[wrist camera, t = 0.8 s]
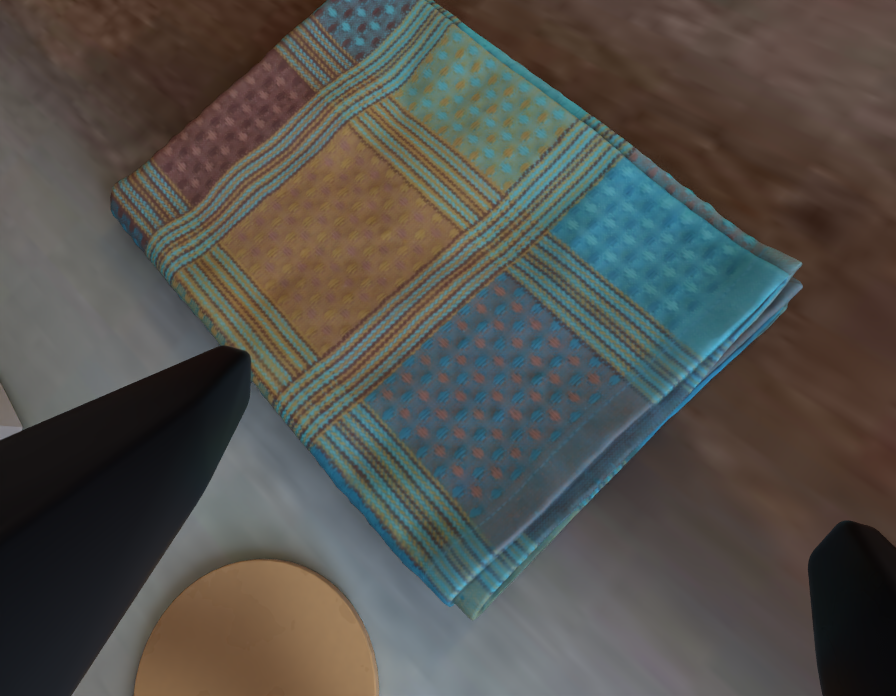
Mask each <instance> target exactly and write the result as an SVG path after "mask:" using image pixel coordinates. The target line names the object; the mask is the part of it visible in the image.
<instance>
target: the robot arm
mask: <svg viewBox="0 0 896 696" xmlns="http://www.w3.org/2000/svg"><path fill="white" fill-rule="evenodd" d="M250 383H251V357H250V354H249V353H248V352H247V351H245V350H241V349H238V348H234V347H231V346H226V345H222V346H219V347H216V348H214V349H211V350H209V351H207V352H204V353H202V354H200V355H197V356H195V357H193V358H190V359H188V360H186V361H183V362H181V363H179V364H176V365H174V366H172V367H169V368H167V369H165V370H162V371H160V372H158V373H155V374H153V375H151V376H148V377H146V378H144V379H141V380H139V381H137V382H134V383H132V384H130V385H127V386H125V387H123V388H120V389H118V390H116V391H113V392H111V393H109V394H106V395H104V396H102V397H99V398H97V399H95V400H92V401H90V402H88V403H85V404H83V405H81V406H78V407H76V408H74V409H71V410H69V411H67V412H64V413H62V414H60V415H57V416H55V417H53V418H50V419H48V420H46V421H43V422H41V423H39V424H36V425H34V426H32V427H29V428H27V429H25V430H22V431H20V432H18V433H15V434H13V435H11V436H8V437H6V438H4V439H1V440H0V696H71V695H72V694H73V692H74V691H75V689H76V688H77V686H78V684H79V683H80V681H81V680H82V678H83V677H84V675H85V674H86V672H87V671H88V669H89V668H90V666H91V665H92V663H93V662H94V660H95V659H96V657H97V655H98V654H99V652H100V651H101V649H102V648H103V646H104V645H105V643H106V642H107V640H108V639H109V637H110V636H111V634H112V633H113V631H114V629H115V628H116V626H117V625H118V623H119V622H120V620H121V619H122V617H123V616H124V614H125V613H126V611H127V610H128V608H129V607H130V605H131V603H132V602H133V600H134V599H135V597H136V596H137V594H138V593H139V591H140V590H141V588H142V587H143V585H144V584H145V582H146V581H147V579H148V578H149V576H150V574H151V573H152V571H153V570H154V568H155V567H156V565H157V564H158V562H159V561H160V559H161V558H162V556H163V555H164V553H165V552H166V550H167V548H168V547H169V545H170V544H171V542H172V541H173V539H174V538H175V536H176V535H177V533H178V532H179V530H180V529H181V527H182V526H183V524H184V523H185V521H186V519H187V518H188V516H189V515H190V513H191V512H192V510H193V509H194V507H195V506H196V504H197V502H198V501H199V499H200V498H201V496H202V494H203V493H204V491H205V489H206V487H207V485H208V483H209V482H210V480H211V478H212V476H213V474H214V472H215V470H216V468H217V466H218V464H219V462H220V460H221V458H222V456H223V454H224V452H225V450H226V448H227V446H228V444H229V442H230V440H231V438H232V436H233V434H234V432H235V430H236V428H237V425H238V423H239V421H240V419H241V417H242V415H243V413H244V411H245V409H246V407H247V404H248V401H249V397H250ZM808 575H809V586H810V597H811V608H812V619H813V630H814V641H815V651H816V659H817V667H818V673H819V679H820V685H821V690H822V695H823V696H896V548H895V547H894V546H893V545H892V544H891V543H890V542H889V541H888V540H887V539H886V538H885V537H884V536H883V535H882V534H881V533H880V532H879V531H878V530H876V529H875V528H873V527H870V526H867V525H863V524H860V523H856V522H853V521H842V522H840V523H838V524H837V525H836V526H835V527H834V528H833V529H832V531H831V532H830V533H829V534H828V535H827V536H826V537H825V538H824V540H823V541H822V542H821V543H820V544H819V545H818V546H817V547H816V548H815V550H814V551H813V552H812V554H811V556H810V559H809V563H808Z"/></svg>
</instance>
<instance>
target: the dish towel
mask: <svg viewBox="0 0 896 696" xmlns="http://www.w3.org/2000/svg"><path fill="white" fill-rule="evenodd" d="M110 198H111V211H112V214H113V216H114V217H115V218H116V219H117V220H118V221H119V222H120V224H121V225H122V227H123V228H124V230H125V231H126V232H127V233H128V234H129V235H130V236H131V237H132V238H133V240H134V242H135V243H136V245H137V246H138V247H139V248H140V249H141V250H142V251H143V252H144V253H145V254H146V256H147V257H148V258H149V260H150V261H151V262H152V263H153V265H154V266H155V267H156V268H157V269H158V271H159V272H160V273H161V274H162V275H163V277H164V278H165V279H166V281H167V282H168V283H169V285H170V286H171V287H172V288H173V289H174V290H175V291H176V292H177V293H178V295H179V297H180V299H181V300H183V301H184V302H185V303H186V304H187V305H188V306H189V307H190V308H191V310H192V311H193V313H194V314H195V315H196V316H197V317H198V318H199V319H200V320H201V321H202V322H203V323H204V325H205V327H206V328H207V330H208V331H209V332H210V333H211V334H212V335H213V336H214V337H215V339H216V340H217V342H218V343H219V345H220V346H222V345H226V346H231V347H234V348H238V349H241V350H245V351H247V352H248V353H249V354H250V357H251V381H252V382H253V383H254V384H255V385H256V386H257V387H258V389H259V390H260V392H261V394H262V396H264V397H265V398H266V399H267V400H268V402H269V403H270V404H271V406H272V407H273V408H274V409H275V411H276V412H277V413H278V414H279V415H280V416H281V418H282V419H283V420H284V421H285V423H286V424H287V425H288V426H289V427H290V428H291V430H292V431H293V432H294V434H295V435H296V436H297V437H298V439H299V440H300V441H301V442H302V443H303V445H304V446H305V447H306V448H307V449H308V450H309V451H310V452H311V454H312V455H313V456H314V457H315V458H316V460H317V462H318V463H319V465H320V466H321V467H322V468H323V469H324V470H325V471H326V472H327V474H328V475H329V477H330V478H331V479H332V481H333V482H334V484H335V485H336V487H337V488H339V489H340V490H341V491H342V492H343V493H344V494H345V495H346V496H347V497H348V499H349V500H350V502H351V503H352V504H353V505H354V506H355V507H356V508H357V509H359V510H360V511H361V512H362V514H363V515H364V516H365V517H366V519H367V521H368V522H369V524H370V525H371V526H372V527H373V528H374V529H375V530H376V531H377V532H378V533H379V535H380V536H381V537H382V538H383V540H384V541H385V543H386V544H387V545H388V546H389V547H390V549H391V550H392V551H393V552H394V553H395V554H396V555H397V556H398V557H399V558H400V560H401V561H402V563H403V564H404V565H405V566H407V567H408V568H409V569H410V570H411V571H413V572H414V573H415V574H416V575H417V576H418V577H419V578H420V579H421V580H422V581H423V582H424V583H425V584H426V585H427V586H428V587H429V588H430V589H431V590H432V591H433V592H434V593H435V594H436V595H437V596H438V598H439V599H440V600H441V601H442V602H443V603H444V604H446V605H447V606H449V607H451V606H453V605H454V604H456V605H457V606H458V607H459V608H460V609H461V610H462V611H463V612H464V613H465V614H466V616H467V617H469V618H470V619H471V620H472V621H474V620H475V619H476V618H477V617H478V616H479V615H481V614H482V613H483V612H484V610H485V609H486V608H487V607H488V606H489V605H490V604H491V603H492V602H493V600H494V599H495V598H496V597H497V596H498V595H499V594H500V593H501V592H502V591H503V590H504V589H505V588H506V587H507V586H508V585H509V584H510V583H511V582H512V581H513V580H514V579H515V578H516V577H517V576H518V575H519V574H520V573H521V572H522V571H523V570H524V569H525V568H526V567H527V566H528V565H529V564H530V562H531V561H532V560H533V559H534V558H535V557H536V556H537V555H538V554H539V553H540V552H541V551H542V550H543V549H544V548H545V547H546V546H547V545H548V544H549V543H550V542H551V541H552V540H553V539H554V538H555V537H556V535H557V534H558V533H559V532H560V531H561V530H562V529H563V528H564V527H565V526H566V525H567V524H568V523H569V521H570V520H571V519H572V518H573V517H574V516H575V515H576V514H577V513H578V512H579V511H580V510H581V509H582V508H583V507H584V506H585V505H586V504H587V503H588V502H589V501H590V500H591V499H592V498H593V497H594V496H595V495H596V494H597V493H598V492H599V491H600V490H601V489H602V488H603V487H604V486H605V485H606V484H607V483H608V482H609V481H610V479H611V478H612V477H613V476H614V475H615V474H617V473H618V472H619V471H620V469H621V468H622V467H623V466H624V465H625V464H626V463H627V462H628V461H629V460H630V459H631V458H632V457H633V456H634V455H635V454H636V453H637V452H638V451H639V450H640V449H641V448H642V446H643V445H644V444H645V443H646V442H647V441H648V440H649V439H650V438H651V437H652V436H653V435H654V434H655V433H656V431H657V430H658V429H659V428H660V427H661V426H662V425H663V424H664V423H665V422H666V421H667V420H668V419H669V418H671V417H672V416H673V415H674V414H675V413H677V412H678V411H679V410H680V409H681V408H682V407H683V406H684V405H685V404H686V403H687V402H688V401H690V400H691V399H692V398H693V397H694V396H695V395H696V394H697V392H699V391H700V390H701V389H702V388H703V387H704V386H705V385H706V384H707V383H708V382H709V381H710V380H711V379H712V378H713V377H714V376H715V375H716V374H717V373H719V372H720V371H721V370H722V369H723V368H724V367H725V366H726V365H727V364H728V363H729V362H731V361H732V360H733V359H734V358H735V357H736V356H737V355H738V354H740V353H741V352H742V351H743V350H744V349H745V348H746V347H747V346H748V345H749V344H750V343H751V342H752V341H753V340H755V339H756V338H757V337H758V336H760V335H761V334H762V333H763V332H764V331H765V330H766V329H768V328H769V327H770V326H771V325H772V323H773V322H774V321H775V320H776V319H777V318H778V317H779V316H780V315H781V314H782V313H783V312H784V311H785V310H786V309H787V305H788V302H789V301H790V300H791V299H792V298H793V297H794V296H795V295H796V294H797V293H798V292H799V291H800V290H801V289H802V287H803V286H802V284H801V282H800V281H798V280H797V279H795V278H794V277H792V276H793V274H794V273H795V272H796V271H797V270H798V269H799V268H800V267H801V265H802V263H801V262H800V261H798V260H796V259H794V258H792V257H790V256H788V255H786V254H784V253H782V252H780V251H778V250H776V249H773V248H771V247H768V246H766V245H764V244H762V243H760V242H758V241H757V240H755V239H754V238H753V237H751V236H749V235H747V234H746V233H744V232H743V231H742V230H740V229H739V228H737V227H736V226H735V225H734V224H732V223H731V222H730V221H728V220H726V219H724V218H723V217H722V216H721V215H720V214H718V213H717V212H716V210H715V209H714V208H713V207H712V206H711V205H710V204H709V203H706V202H703V201H702V200H701V199H699V198H698V197H697V196H696V195H695V194H694V193H693V191H692V190H690V189H688V188H686V187H684V186H682V185H681V184H680V183H678V182H677V181H676V180H675V179H674V178H673V177H672V176H671V175H670V174H669V173H667V172H665V171H663V170H662V169H660V168H659V167H658V166H657V165H656V164H655V163H653V162H652V161H651V160H650V159H649V158H647V157H646V156H644V155H643V154H642V153H641V152H639V151H638V150H637V149H636V148H635V147H633V146H632V145H631V144H629V143H628V142H627V141H626V140H624V139H623V138H622V137H620V136H619V135H618V134H616V133H615V132H613V131H612V130H611V129H609V128H608V127H607V126H606V125H604V124H603V123H602V122H600V121H599V120H597V119H596V118H595V117H593V116H592V115H590V114H588V113H587V112H585V111H584V110H583V109H581V108H580V107H579V106H578V105H576V104H575V103H573V102H572V101H570V100H569V99H567V98H566V97H564V96H563V95H562V94H561V93H560V92H559V91H557V90H555V89H553V88H552V87H551V86H550V85H548V84H547V83H545V82H544V81H542V80H541V79H540V78H538V77H537V76H535V75H533V74H532V73H531V72H529V71H528V70H527V69H526V68H525V67H524V66H522V65H521V64H519V63H518V62H516V61H514V60H513V59H511V58H510V57H509V56H508V55H507V54H505V53H504V52H502V51H501V50H500V49H498V48H497V47H495V46H494V45H492V44H491V43H490V42H488V41H487V40H485V39H484V38H482V37H481V36H479V35H478V34H477V33H475V32H474V31H473V30H471V29H470V28H469V27H467V26H466V25H465V24H464V23H462V22H461V21H460V20H459V19H458V18H457V17H455V16H454V15H452V14H451V13H450V12H448V11H447V10H445V9H444V8H442V7H441V6H440V5H438V4H437V3H436V2H434V1H433V0H327V1H326V2H325V3H324V4H323V5H322V6H320V7H319V8H318V9H317V10H316V11H314V12H313V13H312V14H311V15H310V16H309V17H308V18H307V19H306V20H304V21H303V22H302V23H301V24H299V25H298V26H297V27H296V28H294V29H293V30H292V31H291V32H290V33H289V34H287V35H286V36H285V37H284V38H283V39H282V40H281V41H280V42H279V43H278V44H277V45H276V46H275V47H274V48H273V49H271V50H270V51H269V52H268V53H267V54H266V55H265V57H264V58H263V59H262V60H261V61H260V62H259V63H258V64H256V65H254V66H253V67H252V68H251V69H250V70H249V72H248V73H247V74H245V75H244V76H243V77H241V78H240V79H238V80H237V81H236V82H235V83H234V84H233V85H232V86H231V87H230V88H229V89H228V90H226V91H225V92H223V93H222V94H220V95H219V96H218V97H217V99H216V100H215V101H214V102H213V103H212V104H211V105H209V106H208V107H206V108H205V109H204V110H202V112H201V114H200V116H199V117H197V118H196V119H194V120H192V121H190V122H189V123H188V124H187V125H186V127H185V128H184V129H183V130H182V131H181V132H180V133H179V134H177V135H176V136H174V137H172V138H171V139H170V141H169V142H168V144H167V145H166V146H165V147H164V148H162V149H161V150H159V151H157V152H156V153H155V154H154V155H153V157H152V158H151V159H150V160H149V161H148V162H146V163H145V164H144V165H143V166H142V167H140V168H139V169H138V170H136V171H135V172H134V173H132V174H131V175H130V176H128V177H126V178H124V179H122V180H120V181H118V182H117V183H116V184H115V185H114V186H113V188H112V192H111V197H110Z"/></svg>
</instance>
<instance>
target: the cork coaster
mask: <svg viewBox="0 0 896 696" xmlns="http://www.w3.org/2000/svg"><path fill="white" fill-rule="evenodd" d="M134 696H379V681H378V669H377V664H376V659H375V654H374V650H373V647H372V644H371V641H370V638H369V635H368V633H367V631H366V628H365V626H364V624H363V622H362V620H361V618H360V617H359V615H358V613H357V612H356V610H355V609H354V607H353V605H352V604H351V603H350V602H349V601H348V599H347V598H346V597H345V596H344V594H343V593H342V592H341V591H340V590H339V589H337V588H336V587H335V586H334V585H333V584H332V583H331V582H330V581H328V580H327V579H325V578H324V577H323V576H321V575H320V574H318V573H316V572H314V571H312V570H310V569H308V568H306V567H304V566H302V565H299V564H296V563H292V562H289V561H283V560H278V559H254V560H246V561H239V562H236V563H232V564H228V565H225V566H223V567H220V568H218V569H216V570H213V571H211V572H209V573H208V574H206V575H204V576H203V577H201V578H199V579H198V580H196V581H195V582H194V583H192V584H191V585H190V586H189V587H187V588H186V589H185V590H184V591H183V592H182V593H181V594H180V595H179V596H178V597H177V598H176V599H175V600H174V601H173V602H172V603H171V604H170V606H169V607H168V608H167V609H166V611H165V612H164V613H163V614H162V616H161V618H160V619H159V621H158V622H157V624H156V626H155V627H154V629H153V631H152V633H151V635H150V637H149V639H148V641H147V643H146V646H145V648H144V651H143V654H142V657H141V660H140V663H139V667H138V671H137V675H136V680H135V688H134Z"/></svg>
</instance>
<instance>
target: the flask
mask: <svg viewBox="0 0 896 696" xmlns="http://www.w3.org/2000/svg"><path fill="white" fill-rule="evenodd" d="M22 428H23V427H22V425H21V423H20V421H19V419H18V417H17V415H16V413H15V411H14V409H13V407H12V405H11V403H10V401H9V399H8V397H7V395H6V393H5V391H4V389H3V387H2V385H1V383H0V440H1V439H4V438H6V437H8V436H11V435H13V434H15V433H18V432H20V431H21V430H22Z"/></svg>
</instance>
